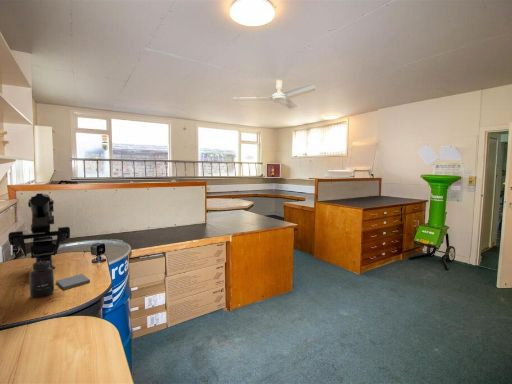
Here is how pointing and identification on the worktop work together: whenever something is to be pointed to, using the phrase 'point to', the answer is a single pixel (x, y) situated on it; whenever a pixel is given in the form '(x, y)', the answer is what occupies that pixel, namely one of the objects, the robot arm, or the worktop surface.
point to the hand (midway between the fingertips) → (41, 253)
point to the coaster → (72, 281)
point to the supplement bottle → (41, 280)
